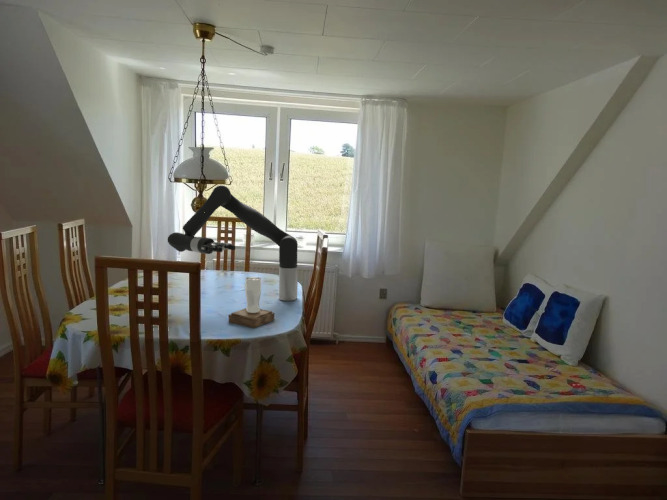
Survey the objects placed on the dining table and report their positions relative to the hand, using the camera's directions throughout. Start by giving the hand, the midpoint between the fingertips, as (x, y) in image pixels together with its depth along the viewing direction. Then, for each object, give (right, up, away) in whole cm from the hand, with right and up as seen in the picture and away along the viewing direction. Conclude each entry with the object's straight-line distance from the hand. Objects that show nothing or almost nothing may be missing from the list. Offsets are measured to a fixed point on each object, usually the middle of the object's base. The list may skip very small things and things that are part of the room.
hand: (228, 248), depth 203 cm
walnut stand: (+12, -32, -7) cm, 35 cm away
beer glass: (+12, -28, -7) cm, 31 cm away
